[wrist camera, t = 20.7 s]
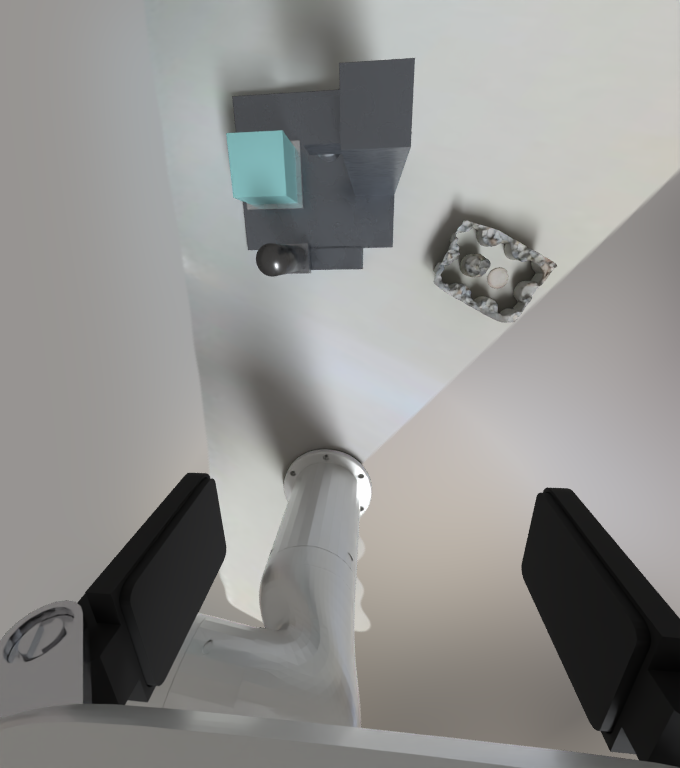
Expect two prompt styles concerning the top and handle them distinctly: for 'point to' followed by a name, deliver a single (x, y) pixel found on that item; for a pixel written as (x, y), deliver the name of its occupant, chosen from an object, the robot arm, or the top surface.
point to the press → (336, 161)
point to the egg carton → (493, 272)
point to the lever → (283, 259)
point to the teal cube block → (262, 167)
